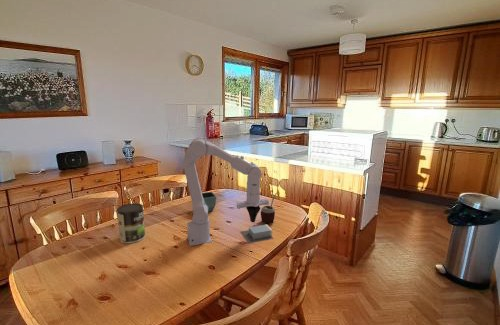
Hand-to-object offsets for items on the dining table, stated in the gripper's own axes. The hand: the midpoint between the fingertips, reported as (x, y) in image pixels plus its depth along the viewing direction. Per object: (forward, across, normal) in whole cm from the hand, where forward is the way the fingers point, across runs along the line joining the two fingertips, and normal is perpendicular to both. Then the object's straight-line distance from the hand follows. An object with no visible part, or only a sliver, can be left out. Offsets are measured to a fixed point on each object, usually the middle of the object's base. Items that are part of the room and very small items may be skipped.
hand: (252, 221), depth 115 cm
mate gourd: (+8, +13, +11) cm, 19 cm away
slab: (+6, 0, 0) cm, 6 cm away
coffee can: (+8, -50, +17) cm, 53 cm away
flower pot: (+8, -13, +36) cm, 39 cm away
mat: (+7, +2, 0) cm, 8 cm away
